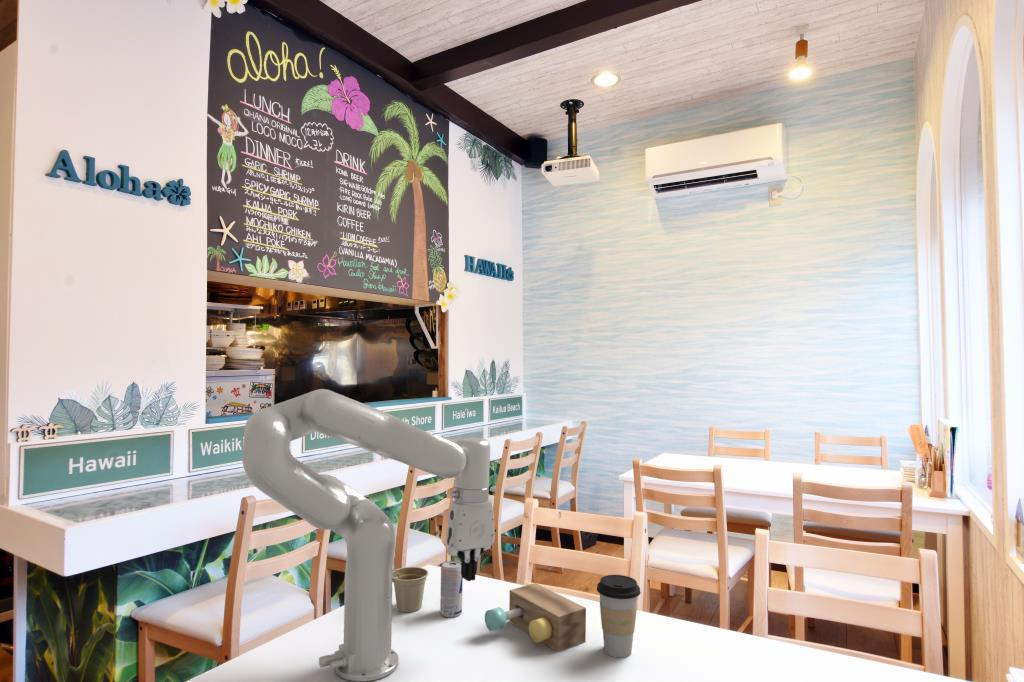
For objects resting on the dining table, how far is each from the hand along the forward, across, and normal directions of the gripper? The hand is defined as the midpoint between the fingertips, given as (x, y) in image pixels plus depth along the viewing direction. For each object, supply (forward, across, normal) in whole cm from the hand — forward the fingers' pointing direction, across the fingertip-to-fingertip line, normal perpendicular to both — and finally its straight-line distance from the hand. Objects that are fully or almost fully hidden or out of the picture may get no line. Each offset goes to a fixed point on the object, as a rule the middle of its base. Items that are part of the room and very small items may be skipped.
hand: (468, 578), depth 132 cm
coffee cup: (+14, +27, -20) cm, 36 cm away
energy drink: (+15, +6, +17) cm, 23 cm away
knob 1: (+13, +12, +1) cm, 18 cm away
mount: (+14, +19, -4) cm, 24 cm away
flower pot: (+15, -2, +25) cm, 30 cm away
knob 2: (+13, +17, -9) cm, 23 cm away
